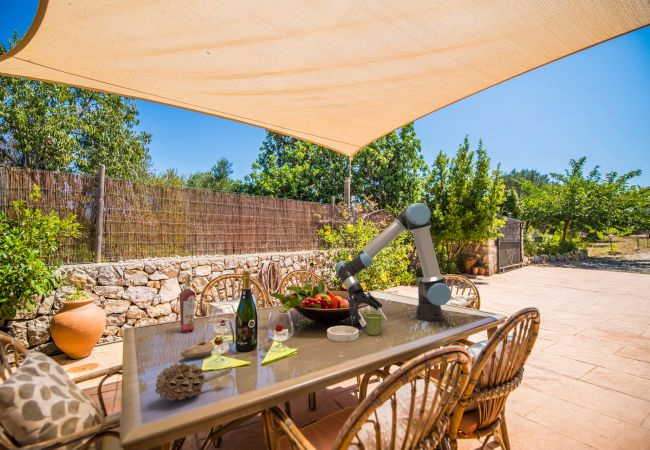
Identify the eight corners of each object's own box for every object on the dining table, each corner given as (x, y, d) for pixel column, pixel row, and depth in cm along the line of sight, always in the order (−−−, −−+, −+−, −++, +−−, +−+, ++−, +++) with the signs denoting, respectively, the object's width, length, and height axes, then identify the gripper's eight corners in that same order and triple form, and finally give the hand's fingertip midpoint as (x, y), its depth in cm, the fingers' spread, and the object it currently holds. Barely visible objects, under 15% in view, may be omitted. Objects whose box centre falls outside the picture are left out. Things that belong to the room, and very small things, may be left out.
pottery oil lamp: (175, 358, 120) (179, 339, 124) (205, 361, 127) (208, 343, 131) (184, 355, 115) (189, 335, 119) (215, 359, 122) (218, 340, 126)
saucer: (363, 334, 149) (363, 328, 149) (350, 343, 136) (350, 336, 136) (335, 330, 156) (335, 324, 156) (321, 338, 143) (321, 332, 143)
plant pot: (382, 330, 155) (382, 313, 155) (384, 336, 145) (384, 317, 146) (363, 330, 156) (363, 312, 156) (364, 336, 146) (363, 317, 147)
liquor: (185, 334, 152) (185, 276, 153) (175, 332, 156) (176, 275, 157) (198, 330, 158) (198, 274, 160) (189, 328, 162) (189, 273, 164)
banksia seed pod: (158, 414, 82) (158, 376, 83) (151, 400, 90) (151, 364, 90) (238, 389, 96) (238, 355, 97) (226, 378, 104) (226, 347, 104)
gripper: (367, 289, 172) (389, 323, 159) (331, 294, 157) (351, 332, 144) (374, 280, 168) (397, 314, 155) (337, 285, 153) (359, 322, 140)
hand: (375, 323), depth 149 cm, fingers open, 13 cm apart
